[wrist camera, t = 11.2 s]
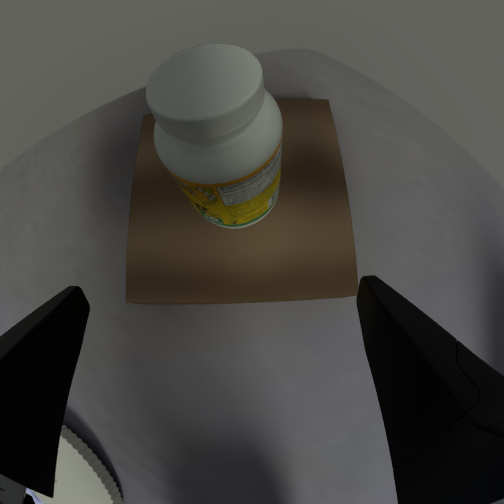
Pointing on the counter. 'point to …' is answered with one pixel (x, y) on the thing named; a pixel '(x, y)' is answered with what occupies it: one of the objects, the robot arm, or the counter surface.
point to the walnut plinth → (248, 238)
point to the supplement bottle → (218, 132)
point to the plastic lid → (80, 475)
